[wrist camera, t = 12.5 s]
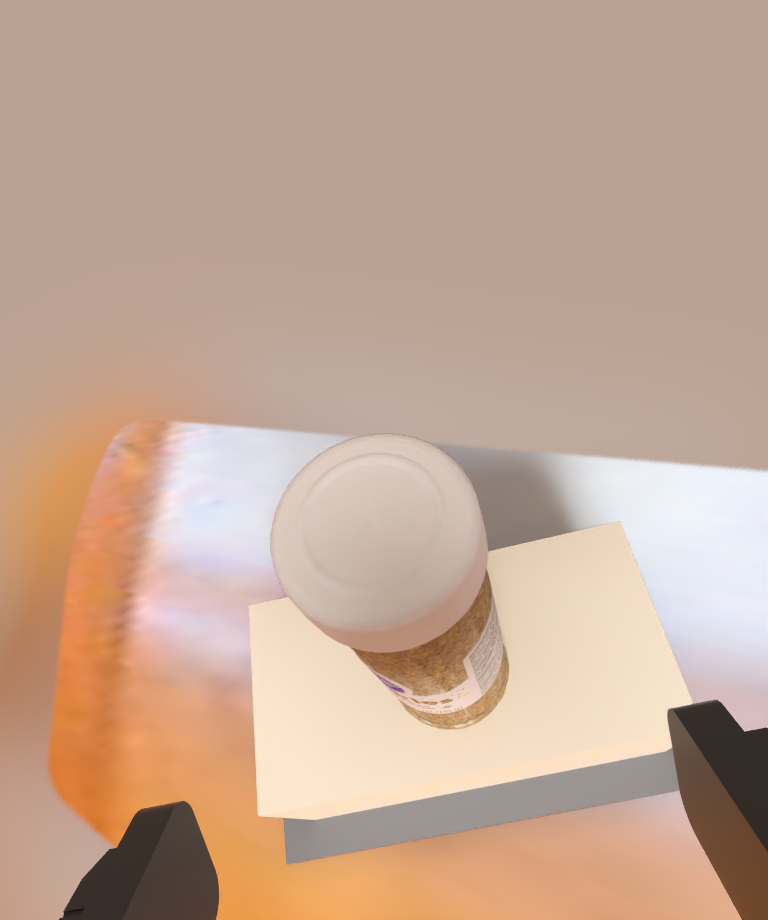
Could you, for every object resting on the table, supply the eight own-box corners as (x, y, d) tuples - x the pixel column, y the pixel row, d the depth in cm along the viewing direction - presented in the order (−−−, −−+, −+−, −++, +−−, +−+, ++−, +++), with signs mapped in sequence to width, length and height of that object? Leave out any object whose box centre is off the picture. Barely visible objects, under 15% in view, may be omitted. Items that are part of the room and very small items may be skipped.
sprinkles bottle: (375, 705, 24) (225, 585, 13) (418, 595, 26) (319, 407, 15) (490, 753, 22) (433, 664, 11) (527, 632, 24) (510, 451, 13)
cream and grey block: (618, 558, 34) (642, 481, 26) (706, 785, 28) (768, 767, 21) (280, 633, 35) (215, 580, 28) (297, 863, 30) (219, 872, 22)
